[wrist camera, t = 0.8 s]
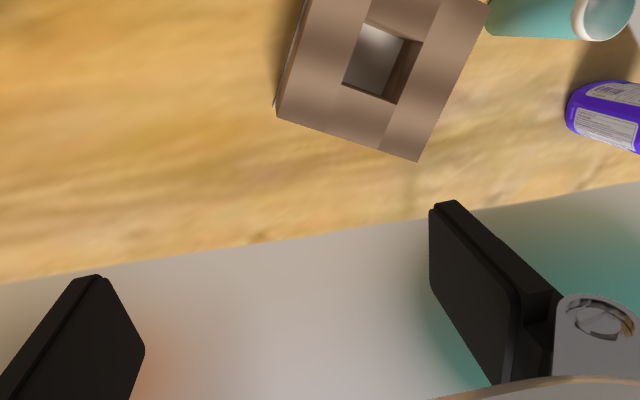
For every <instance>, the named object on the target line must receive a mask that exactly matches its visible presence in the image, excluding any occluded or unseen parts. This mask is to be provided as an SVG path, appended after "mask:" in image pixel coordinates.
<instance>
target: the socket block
mask: <svg viewBox="0 0 640 400" xmlns="http://www.w3.org/2000/svg"><path fill="white" fill-rule="evenodd" d="M492 8H493V7H491V6H489V5H487V4H485V3H482V2H480V1H478V0H305V1H304V4H303V8H302V11H301V14H300V18H299V21H298V24H297V28H296V31H295V34H294V38H293V41H292V44H291V47H290V51H289V54H288V57H287V61H286V64H285V67H284V71H283V74H282V77H281V81H280V84H279V87H278V91H277V94H276V97H275V101H274V104H273V108H276V115H277V117H278V118H281V119H284V120H287V121H290V122H293V123H296V124H299V125H302V126H305V127H308V128H312V129H315V130H318V131H321V132H324V133H327V134H330V135H333V136H336V137H339V138H342V139H346V140H349V141H352V142H355V143H358V144H361V145H364V146H367V147H370V148H373V149H376V150H380V151H383V152H386V153H389V154H392V155H395V156H398V157H401V158H404V159H407V160H410V161H414V162H418V160H419V158H420V156H421V153H422V151H423V149H424V147H425V145H426V143H427V141H428V139H429V137H430V135H431V133H432V131H433V129H434V127H435V125H436V123H437V121H438V119H439V117H440V114H441V112H442V110H443V108H444V106H445V104H446V102H447V100H448V98H449V96H450V94H451V92H452V90H453V88H454V86H455V84H456V82H457V80H458V77H459V75H460V73H461V71H462V69H463V67H464V65H465V63H466V61H467V59H468V57H469V55H470V53H471V51H472V49H473V47H474V45H475V43H476V41H477V38H478V36H479V34H480V32H481V30H482V28H483V26H484V24H485V22H486V20H487V18H488V16H489V14H490V12H491V10H492Z"/></svg>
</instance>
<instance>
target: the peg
mask: <svg viewBox="0 0 640 400" xmlns="http://www.w3.org/2000/svg"><path fill="white" fill-rule="evenodd" d="M488 5H489V6H491V7H493V8H492V10H491V12H490V14H489V16H488V18H487V20H486V22H485V24H484V26H485V29H486V30H487V31H488V32H489V33H490V34H491V35H494V36H513V37H536V38H559V39H582V40H587V41H604V40H608V39H610V38H612V37H614V36H615V35H617V34H618V33H619V32H620V31H621V30H622V29H623V28H624V27H625V26H626V25H627V23H628V22H629V20H630V18H631V16H632V14H633V12H634V9H635V5H636V0H491V1H490V3H489V4H488Z"/></svg>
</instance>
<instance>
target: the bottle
mask: <svg viewBox="0 0 640 400" xmlns="http://www.w3.org/2000/svg"><path fill="white" fill-rule="evenodd" d="M565 120H566V125H567V127H568V128H569V129H571V130H572V131H574V132H575V133H577V134H580V135H584V136H587V137H590V138H593V139H596V140H599V141H602V142H605V143H608V144H611V145H613V146H616V147H619V148H622V149H625V150H628V151H631V152H634V153H637V154H640V84H638V83H632V82H628V81H623V80H607V81H599V82H594V83H590V84H587V85H585V86H583V87H581V88H579V89H577V90H575V91H574V93H573V94H572V96H571V97H570V100H569V102H568V104H567V110H566V114H565Z"/></svg>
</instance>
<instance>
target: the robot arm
mask: <svg viewBox="0 0 640 400" xmlns="http://www.w3.org/2000/svg"><path fill="white" fill-rule="evenodd" d="M428 218H429V280H430V286H431V289H432V291H433V293H434V295H435V296H436V297H437V299H438V301H439V302H440V304H441V306H442V307H443V309H444V310H445V312H446V313H447V315H448V317H449V318H450V320H451V321H452V323H453V324H454V326H455V328H456V329H457V331H458V332H459V334H460V336H461V337H462V339H463V340H464V342H465V343H466V345H467V347H468V348H469V350H470V351H471V353H472V355H473V356H474V358H475V359H476V361H477V362H478V364H479V365H480V367H481V369H482V370H483V372H484V373H485V375H486V377H487V378H488V380H489V381H490V383H491V384H492V386H489V387H484V388H480V389H475V390H471V391H466V392H461V393H456V394H452V395H447V396H442V397H438V398H434V399H429V400H640V319H639V318H638V316H637V315H636V314H635V313H634V312H633V311H631V310H630V309H628V308H627V307H625V306H624V305H622V304H620V303H618V302H616V301H614V300H612V299H609V298H606V297H602V296H599V295H593V294H586V293H582V294H572V295H569V296H566V297H564V296H562V295H561V294H560V293H559V292H558V291H557V290H556V289H555V288H554V287H552V286H551V285H550V284H549V283H548V282H547V281H546V280H545V279H544V278H543V277H541V276H540V275H539V274H538V273H537V272H536V271H535V270H534V269H533V268H532V267H531V266H529V265H528V264H527V263H526V262H525V261H524V260H523V259H522V258H521V257H519V256H518V255H517V254H516V253H515V252H514V251H513V250H512V249H511V248H510V247H508V246H507V245H506V244H505V243H504V242H503V241H502V240H500V239H499V238H497V237H496V236H495V235H494V234H493V233H492V232H491V231H489V230H488V229H487V228H486V227H485V226H484V225H483V224H482V223H481V222H480V221H478V220H477V219H476V218H475V217H474V216H473V215H472V214H471V213H470V212H469V211H468V210H466V209H465V208H464V207H463V206H462V205H461V204H460V203H459V202H458V201H456V200H449V201H445V202H440V203H436V204H435V205H434V209H430V210H429V214H428ZM144 356H145V346H144V343H143V341H142V339H141V337H140V336H139V334H138V332H137V330H136V328H135V327H134V325H133V323H132V321H131V319H130V317H129V316H128V314H127V312H126V310H125V308H124V306H123V305H122V303H121V301H120V299H119V297H118V295H117V294H116V292H115V290H114V288H113V286H112V284H111V283H110V281H109V280H108V279H107V278H102V276H100V275H98V274H94V275H89V276H84V277H80V278H75V279H73V280H72V281H71V282H70V284H69V285H68V286H67V288H66V289H65V290H64V292H63V293H62V294H61V296H60V297H59V298H58V300H57V301H56V302H55V304H54V305H53V306H52V308H51V309H50V310H49V312H48V313H47V314H46V316H45V317H44V318H43V320H42V321H41V322H40V324H39V325H38V326H37V328H36V329H35V330H34V332H33V333H32V334H31V336H30V337H29V338H28V340H27V341H26V342H25V344H24V345H23V346H22V348H21V349H20V350H19V352H18V353H17V354H16V356H15V357H14V358H13V360H12V361H11V362H10V364H9V365H8V366H7V368H6V369H5V370H4V372H3V373H2V374H1V375H0V400H129V397H130V395H131V392H132V389H133V387H134V384H135V381H136V378H137V376H138V373H139V370H140V367H141V364H142V362H143V359H144Z"/></svg>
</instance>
